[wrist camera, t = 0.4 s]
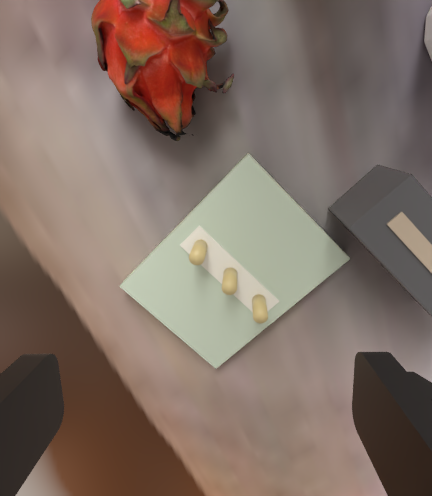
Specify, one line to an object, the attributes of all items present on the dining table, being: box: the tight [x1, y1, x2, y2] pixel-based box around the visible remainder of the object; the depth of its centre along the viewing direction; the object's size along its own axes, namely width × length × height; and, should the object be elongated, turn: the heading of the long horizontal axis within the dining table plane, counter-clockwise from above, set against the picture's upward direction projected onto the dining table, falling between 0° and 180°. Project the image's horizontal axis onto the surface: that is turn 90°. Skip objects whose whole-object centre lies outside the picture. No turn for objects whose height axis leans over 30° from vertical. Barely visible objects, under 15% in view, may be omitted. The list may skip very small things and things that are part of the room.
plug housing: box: [328, 165, 432, 316], centre depth 27 cm, size 5×12×6 cm, turn 46°
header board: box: [119, 153, 350, 369], centre depth 30 cm, size 16×12×4 cm
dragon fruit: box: [91, 0, 234, 141], centre depth 23 cm, size 8×8×12 cm
